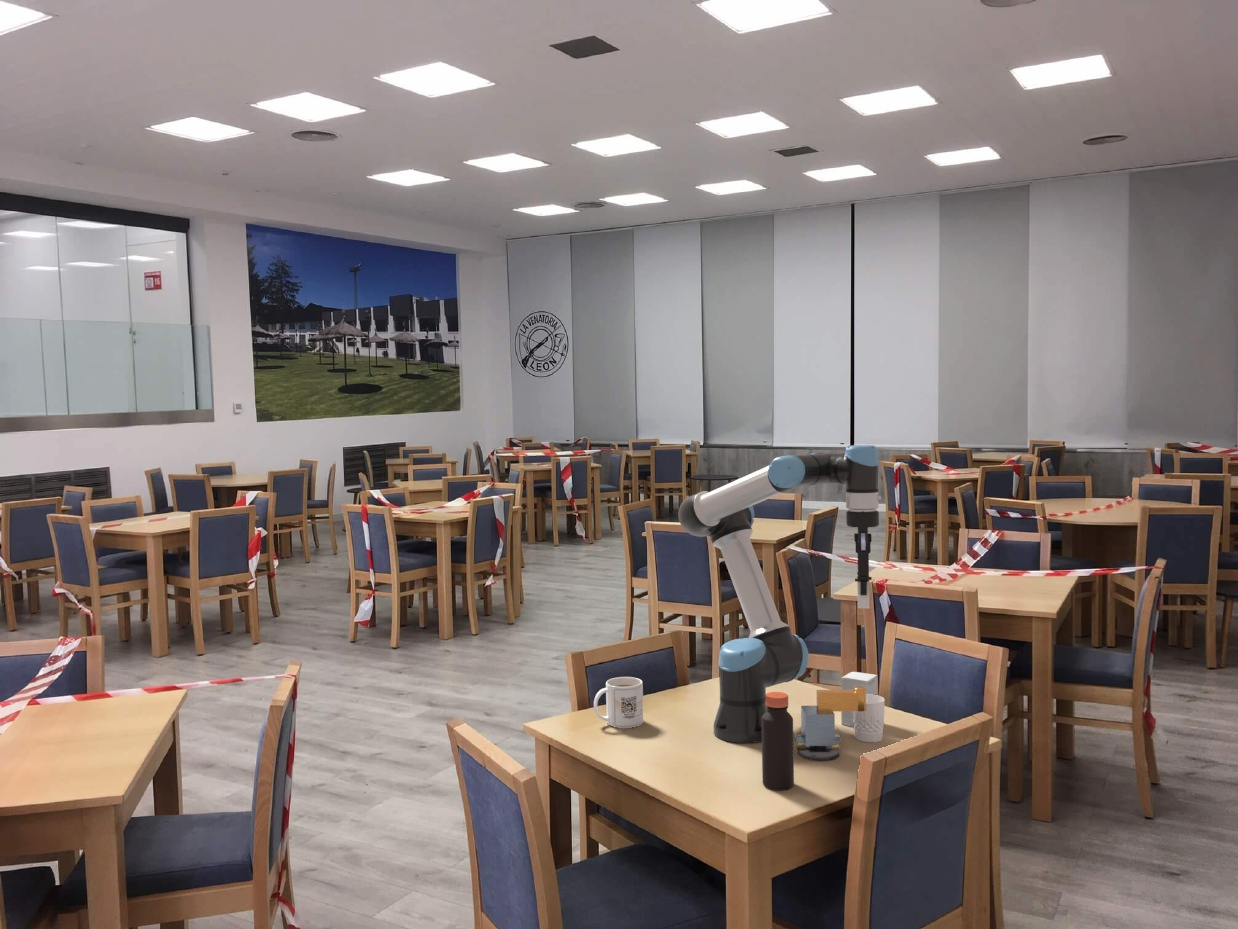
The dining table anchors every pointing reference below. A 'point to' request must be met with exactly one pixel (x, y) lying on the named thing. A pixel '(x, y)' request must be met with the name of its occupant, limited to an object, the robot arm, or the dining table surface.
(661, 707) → the dining table surface
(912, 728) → the dining table surface
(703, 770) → the dining table surface
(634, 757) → the dining table surface
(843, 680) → the supplement box
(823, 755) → the dark grey cylinder
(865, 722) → the white cup
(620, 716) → the mug
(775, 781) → the bottle
